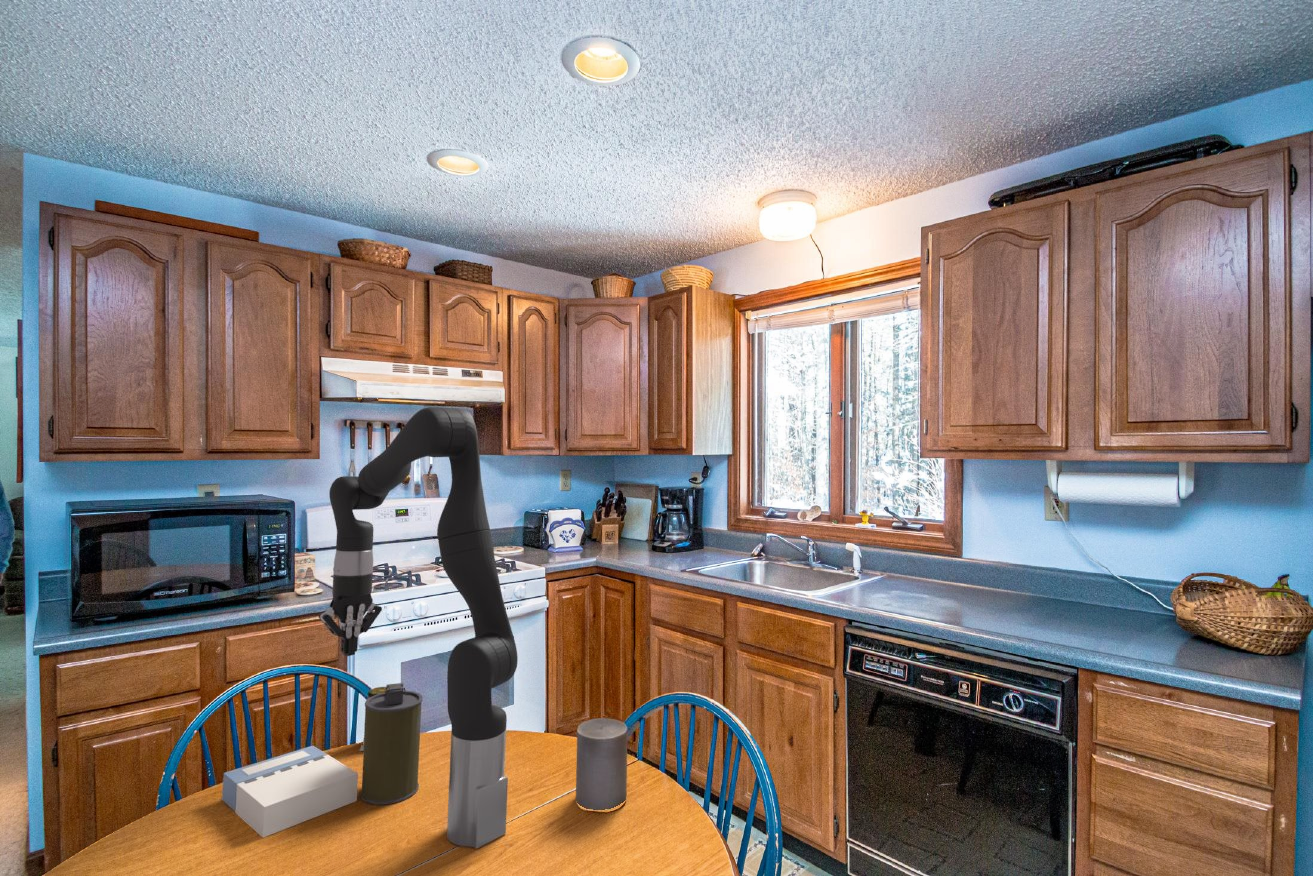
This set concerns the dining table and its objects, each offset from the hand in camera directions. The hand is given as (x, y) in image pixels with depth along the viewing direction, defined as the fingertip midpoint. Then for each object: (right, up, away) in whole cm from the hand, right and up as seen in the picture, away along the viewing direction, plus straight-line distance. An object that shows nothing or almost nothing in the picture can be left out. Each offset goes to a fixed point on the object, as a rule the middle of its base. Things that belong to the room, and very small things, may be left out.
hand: (349, 654), depth 135 cm
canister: (+13, -23, -10) cm, 28 cm away
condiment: (+2, -24, +11) cm, 26 cm away
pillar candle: (+54, -24, -12) cm, 60 cm away
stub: (-9, -22, -11) cm, 26 cm away
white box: (-1, -22, -17) cm, 28 cm away
